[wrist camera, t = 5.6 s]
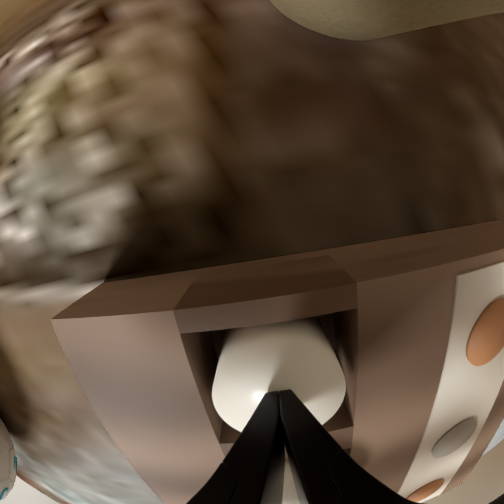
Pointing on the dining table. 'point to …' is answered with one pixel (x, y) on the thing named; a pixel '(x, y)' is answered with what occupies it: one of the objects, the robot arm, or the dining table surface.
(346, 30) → the plant pot
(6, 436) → the puzzle ball
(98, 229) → the dining table surface
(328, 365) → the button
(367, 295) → the button board
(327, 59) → the dining table surface
